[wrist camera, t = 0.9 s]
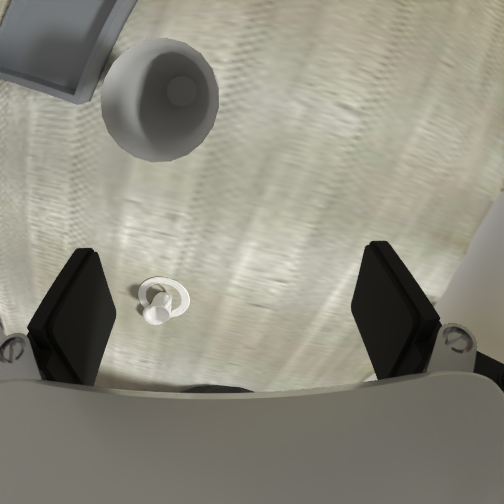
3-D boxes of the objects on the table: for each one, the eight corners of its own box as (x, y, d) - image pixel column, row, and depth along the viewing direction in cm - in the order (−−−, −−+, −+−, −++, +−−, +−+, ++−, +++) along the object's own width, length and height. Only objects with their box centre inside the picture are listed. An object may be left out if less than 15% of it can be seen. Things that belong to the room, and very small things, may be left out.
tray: (48, -38, 18) (34, -44, 15) (150, -21, 22) (142, -29, 19) (1, 71, 25) (-15, 74, 22) (90, 100, 30) (77, 104, 27)
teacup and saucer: (155, 322, 49) (151, 341, 45) (124, 289, 45) (117, 307, 41) (200, 304, 47) (198, 323, 44) (169, 266, 43) (165, 284, 40)
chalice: (159, 62, 28) (90, 58, 13) (221, 50, 28) (208, 25, 13) (170, 123, 32) (117, 173, 17) (230, 112, 32) (228, 150, 17)
